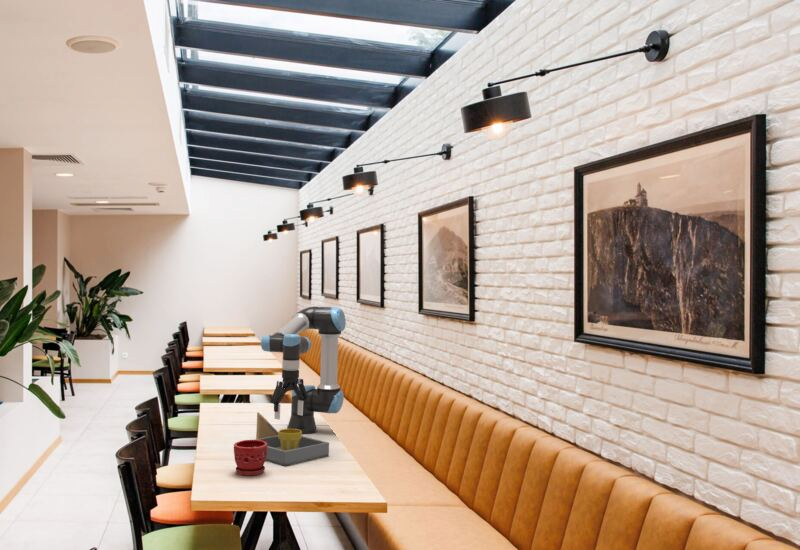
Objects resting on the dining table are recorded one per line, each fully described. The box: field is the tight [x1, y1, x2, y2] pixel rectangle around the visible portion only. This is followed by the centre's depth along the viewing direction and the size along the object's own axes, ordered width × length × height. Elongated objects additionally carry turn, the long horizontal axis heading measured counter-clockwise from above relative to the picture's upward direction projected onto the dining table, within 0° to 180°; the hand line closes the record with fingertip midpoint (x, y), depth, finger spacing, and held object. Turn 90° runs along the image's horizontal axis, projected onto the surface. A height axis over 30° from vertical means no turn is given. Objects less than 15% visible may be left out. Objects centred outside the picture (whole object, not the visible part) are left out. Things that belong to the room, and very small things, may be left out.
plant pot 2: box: [277, 428, 303, 451], centre depth 319 cm, size 10×10×10 cm
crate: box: [254, 435, 330, 467], centre depth 318 cm, size 26×26×6 cm
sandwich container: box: [255, 411, 278, 439], centre depth 338 cm, size 9×15×15 cm, turn 109°
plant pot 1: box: [233, 439, 267, 476], centre depth 287 cm, size 13×13×12 cm
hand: (288, 417), depth 318 cm, fingers open, 13 cm apart
